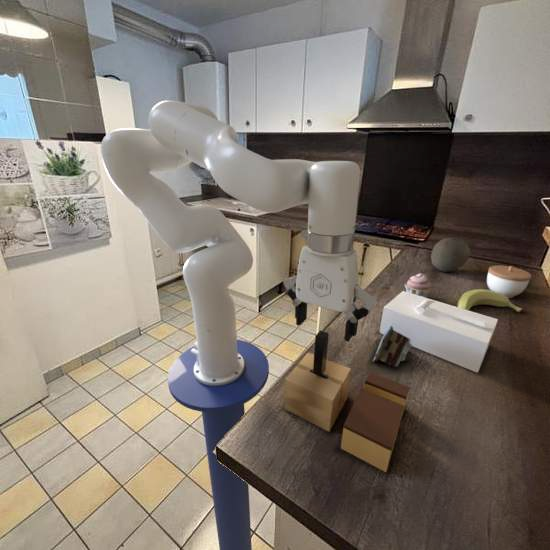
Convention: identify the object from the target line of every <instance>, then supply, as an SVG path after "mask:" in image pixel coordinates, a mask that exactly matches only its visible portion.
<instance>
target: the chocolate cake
mask: <svg viewBox="0 0 550 550" xmlns="http://www.w3.org/2000/svg"><path fill="white" fill-rule="evenodd" d="M410 341H411V340H410V339H409V338H407V337H405V336H404V335H402V334H400V333H398V332H396V331H394V330H393V327H392V324H391V326H390V327H389V328H388V330H387V331H386V333H385V334H383V335H382V337H381V340H380V342H379V345H378V347H377V350H376V352H375V355H374V357H373V359H372V362H378V361H379V360H380V361H381V362H383V363H385V364H386V365H389V366H390V367H393V368H396V367H398V366H399V364H400V362H403V363H404V362H406V361H407V359H406V358H407V354H408V352H409V351H410V349H411V347H413V346H412V345H411V344H410Z"/></svg>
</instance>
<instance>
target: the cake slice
mask: <svg viewBox="0 0 550 550" xmlns="http://www.w3.org/2000/svg"><path fill="white" fill-rule="evenodd" d="M363 389H365V390H367V391H369V392H372V393H374V394H377V395H379V396H382V397H384V398H387V399H389V400H391V401H394V402H396V403H399V404H401V405H404V408H403V412H402V416H401V419H402V418H403V414H404V411H405V408H406V403H407V400H408V395H409V390H410V386H409V385H405V384H403V383H399V382H398V381H394V380H392V379H389V378H386V377H383V376H381V375H379V374H375V373H373V372H370V371H369V372H368V374H367V376H366V378H365V380H364V386H363Z"/></svg>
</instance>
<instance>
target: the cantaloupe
mask: <svg viewBox="0 0 550 550" xmlns="http://www.w3.org/2000/svg"><path fill="white" fill-rule="evenodd" d="M470 256H471V249H470V247H469V244H467V243H466V242H465V241H464V240H463V239H460V238H457V237H453V236H452V237H445V238H442V239H440V240H439V241H438V242H437V243H435V244H434V246H433V248H432V251H431V254H430V259H431V263H432V266H433V267H435V268H436V269H437V270H439V271H440V272H443V273H445V272H446V273H449V272H454V271H457V270H458V269H460V268H462V267H463V266H464V265H465V264H467V261H469V258H470Z"/></svg>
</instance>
